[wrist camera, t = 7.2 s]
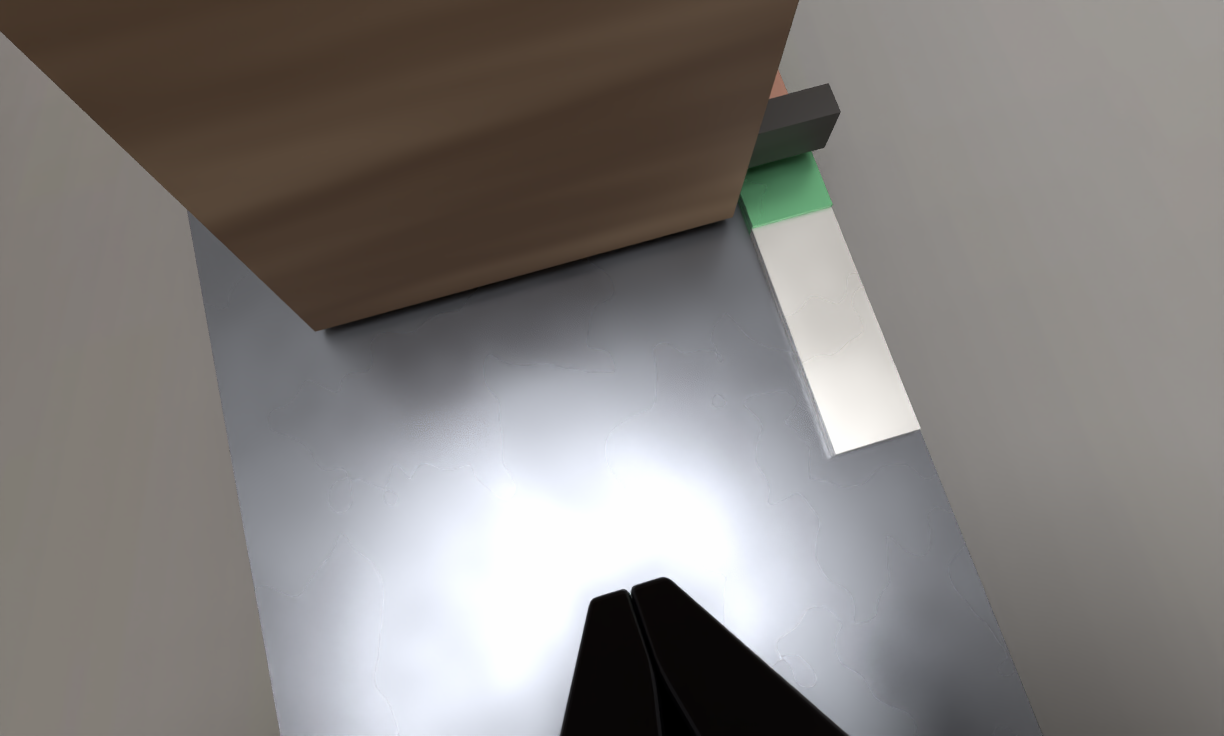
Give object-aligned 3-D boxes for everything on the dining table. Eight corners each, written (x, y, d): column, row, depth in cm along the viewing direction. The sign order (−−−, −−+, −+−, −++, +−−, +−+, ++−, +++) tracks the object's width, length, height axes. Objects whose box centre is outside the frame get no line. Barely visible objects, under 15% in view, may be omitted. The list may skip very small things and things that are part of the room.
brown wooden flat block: (832, 190, 16) (1142, -407, 7) (315, 331, 16) (-155, -117, 6) (796, 101, 17) (1038, -568, 7) (294, 234, 16) (-170, -322, 7)
